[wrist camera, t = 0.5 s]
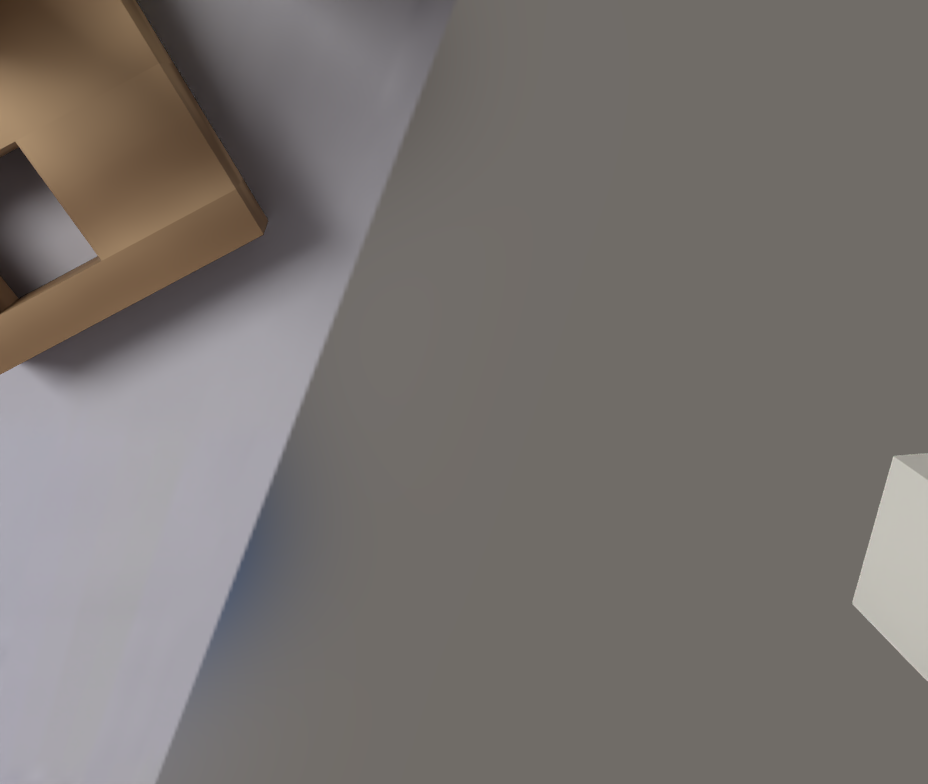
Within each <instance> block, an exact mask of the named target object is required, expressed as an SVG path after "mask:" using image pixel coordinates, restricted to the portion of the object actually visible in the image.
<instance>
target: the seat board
mask: <svg viewBox="0 0 928 784" xmlns="http://www.w3.org/2000/svg"><path fill="white" fill-rule="evenodd" d="M18 147H20V149H21V150H22V152H23V153H24V154H25V156H26V157H27V158H28V160H29V161H30V163H31V164H32V165H33V167H34V168H35V169H36V171H37V172H38V174H39V175H40V176H41V178H42V179H43V181H44V182H45V183H46V185H47V186H48V187H49V189H50V190H51V192H52V193H53V194H54V196H55V197H56V198H57V200H58V201H59V203H60V204H61V205H62V207H63V208H64V210H65V211H66V212H67V214H68V215H69V216H70V218H71V219H72V221H73V222H74V223H75V225H76V226H77V227H78V229H79V230H80V232H81V233H82V234H83V236H84V237H85V238H86V240H87V241H88V243H89V244H90V245H91V247H92V248H93V250H94V251H95V252H96V254H97V255H98V256H97V257H96V258H94V259H92V260H90V261H88V262H86V263H84V264H82V265H81V266H79V267H77V268H75V269H73V270H71V271H69V272H67V273H66V274H64V275H62V276H60V277H58V278H56V279H54V280H53V281H51V282H49V283H47V284H45V285H43V286H41V287H39V288H38V289H36V290H34V291H32V292H30V293H28V294H26V295H24V296H23V297H21V298H19V299H18V297H17V296H16V295H15V294H14V292H13V291H12V290H11V289H10V287H9V286H8V285H7V284H6V282H5V281H4V280H3V279H2V277H1V276H0V374H2V373H4V372H6V371H8V370H10V369H12V368H13V367H15V366H17V365H19V364H21V363H23V362H25V361H27V360H28V359H30V358H32V357H34V356H36V355H38V354H40V353H42V352H44V351H45V350H47V349H49V348H51V347H53V346H55V345H57V344H59V343H60V342H62V341H64V340H66V339H68V338H70V337H72V336H74V335H76V334H77V333H79V332H81V331H83V330H85V329H87V328H89V327H91V326H92V325H94V324H96V323H98V322H100V321H102V320H104V319H106V318H108V317H109V316H111V315H113V314H115V313H117V312H119V311H121V310H123V309H124V308H126V307H128V306H130V305H132V304H134V303H136V302H138V301H140V300H141V299H143V298H145V297H147V296H149V295H151V294H153V293H155V292H156V291H158V290H160V289H162V288H164V287H166V286H168V285H170V284H172V283H173V282H175V281H177V280H179V279H181V278H183V277H185V276H187V275H188V274H190V273H192V272H194V271H196V270H198V269H200V268H202V267H204V266H205V265H207V264H209V263H211V262H213V261H215V260H217V259H219V258H220V257H222V256H224V255H226V254H228V253H230V252H232V251H234V250H236V249H237V248H239V247H241V246H243V245H245V244H247V243H249V242H251V241H252V240H254V239H256V238H258V237H260V236H262V235H264V232H265V229H266V226H267V223H268V219H267V218H266V216H265V214H264V213H263V211H262V209H261V208H260V206H259V204H258V203H257V201H256V199H255V198H254V196H253V194H252V193H251V191H250V189H249V188H248V186H247V184H246V183H245V181H244V179H243V178H242V176H241V174H240V173H239V171H238V170H237V168H236V166H235V165H234V163H233V161H232V160H231V158H230V156H229V155H228V153H227V151H226V150H225V148H224V146H223V145H222V143H221V141H220V140H219V138H218V136H217V135H216V133H215V131H214V130H213V128H212V126H211V125H210V123H209V121H208V120H207V118H206V116H205V115H204V113H203V111H202V110H201V108H200V106H199V105H198V103H197V101H196V100H195V98H194V96H193V95H192V93H191V91H190V90H189V88H188V87H187V85H186V83H185V82H184V80H183V78H182V77H181V75H180V73H179V72H178V70H177V68H176V67H175V65H174V63H173V62H172V60H171V58H170V57H169V55H168V53H167V52H166V50H165V48H164V47H163V45H162V43H161V42H160V40H159V38H158V37H157V35H156V33H155V32H154V30H153V28H152V27H151V25H150V23H149V22H148V20H147V18H146V17H145V15H144V13H143V12H142V10H141V8H140V7H139V5H138V4H137V2H136V0H0V157H2V156H4V155H6V154H7V153H9V152H11V151H13V150H15V149H17V148H18Z"/></svg>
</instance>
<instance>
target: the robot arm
mask: <svg viewBox="0 0 928 784" xmlns="http://www.w3.org/2000/svg"><path fill="white" fill-rule="evenodd" d="M852 604H853V605H854V606H855V607H856V608H857V609H858V610H859V611H860V612H861V613H862V614H863V615H864V616H865V617H866V618H867V619H868V620H869V621H870V622H871V624H873V626H875V628H876V629H877V630H878V631H879V632H880V633H881V634H882V635H883V636H884V637H885V638H886V639H887V640H888V641H889V642H890V643H891V644H892V645H893V646H894V647H895V648H896V649H897V650H898V651H899V652H900V653H901V654H902V656H904V658H905V659H906V660H907V661H908V662H909V663H910V664H911V665H912V666H913V667H914V668H915V669H916V670H917V671H918V672H919V673H920V674H921V675H922V676H923V677H924V678H925V679H926V680H927V681H928V453H923V454H911V455H901V456H894V457H893V460H892V463H891V467H890V470H889V474H888V478H887V481H886V485H885V488H884V492H883V495H882V499H881V502H880V506H879V509H878V513H877V517H876V520H875V524H874V528H873V531H872V535H871V538H870V542H869V545H868V549H867V552H866V556H865V559H864V563H863V567H862V571H861V574H860V577H859V581H858V584H857V588H856V591H855V595H854V599H853V602H852Z"/></svg>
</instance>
